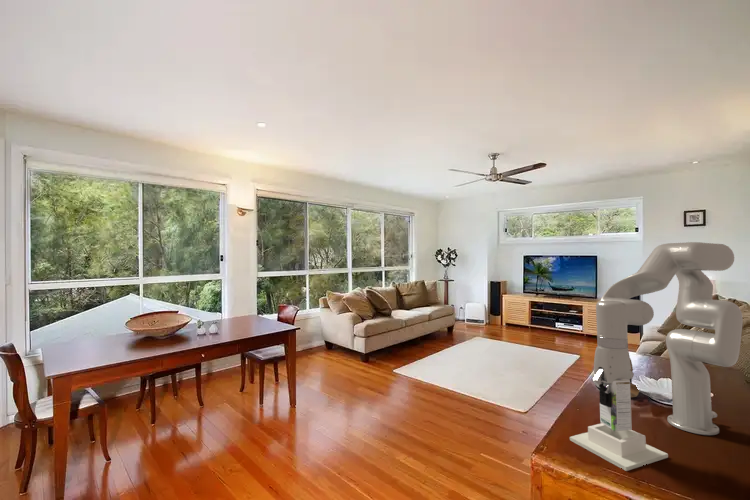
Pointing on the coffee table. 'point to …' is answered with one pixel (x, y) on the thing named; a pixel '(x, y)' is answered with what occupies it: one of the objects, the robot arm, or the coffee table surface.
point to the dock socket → (619, 446)
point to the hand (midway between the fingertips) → (614, 403)
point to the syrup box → (618, 407)
